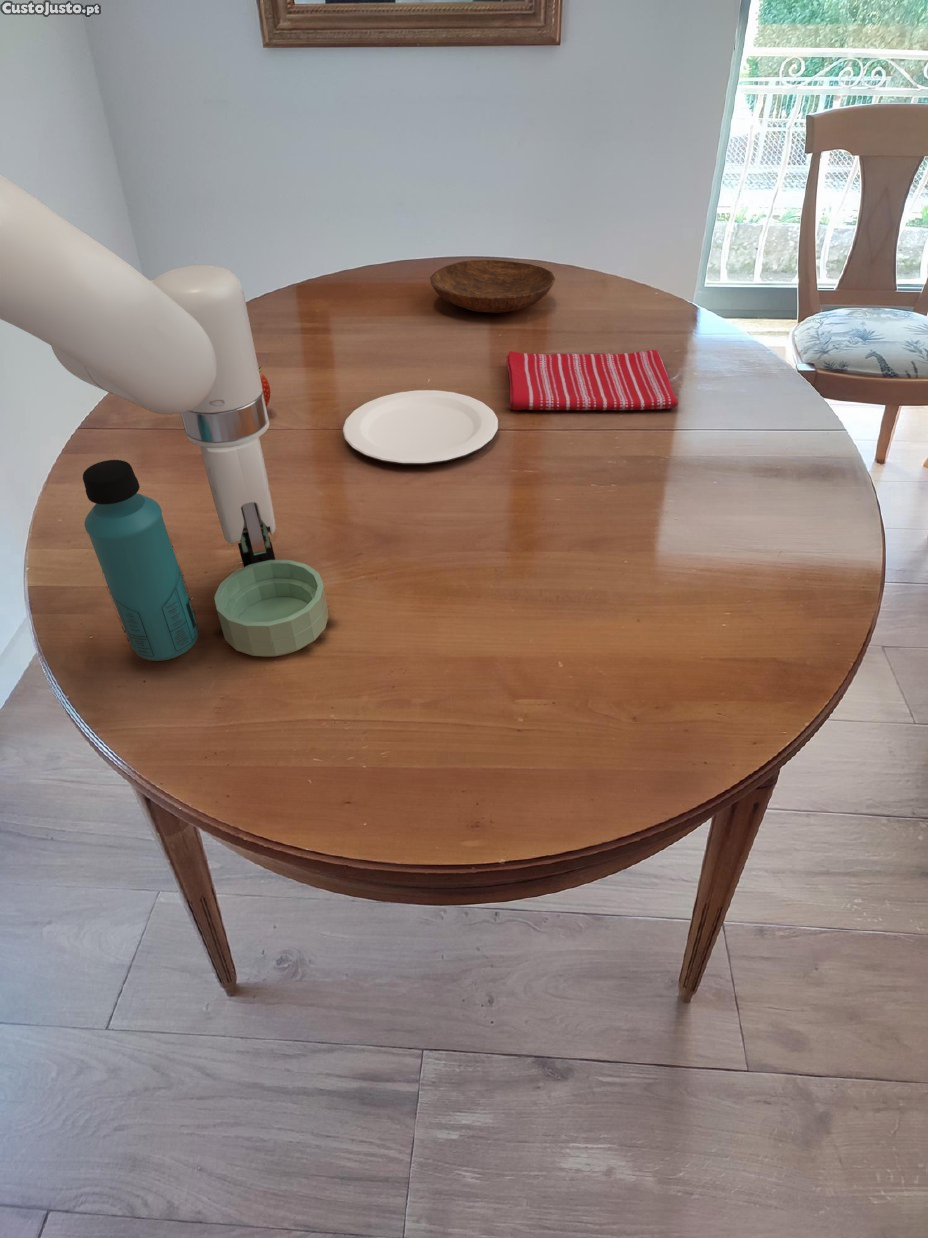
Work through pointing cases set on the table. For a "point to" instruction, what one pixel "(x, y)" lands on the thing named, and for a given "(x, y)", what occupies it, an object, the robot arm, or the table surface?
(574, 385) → the dish towel
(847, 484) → the table surface
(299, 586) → the celadon bowl
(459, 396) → the plate
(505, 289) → the bowl
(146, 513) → the beverage bottle
